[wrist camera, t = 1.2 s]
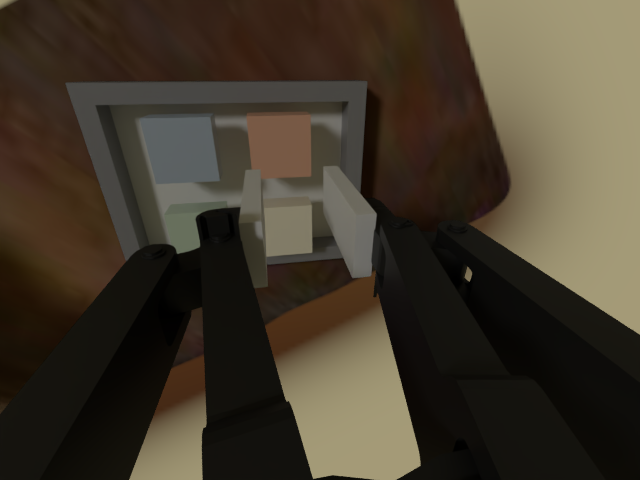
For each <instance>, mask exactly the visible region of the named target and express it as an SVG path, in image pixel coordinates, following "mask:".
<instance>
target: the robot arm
mask: <svg viewBox="0 0 640 480" xmlns="http://www.w3.org/2000/svg"><path fill="white" fill-rule="evenodd" d="M323 214H324V216H325V218H326V220H327V223H328V225H329V227H330V229H331V231H332V234H333V236H334V238H335V240H336V243H337V245H338V247H339V249H340V251H341V254H342V256H343V258H344V260H345V262H346V265H347V267H348V269H349V271H350V273H351V276H352V278H358V277H368V276H371V270H372V264H373V266H374V268H375V269H376V277H375V286H374V296H373V297H376V295H377V293H378V295H379V298H380V303H381V306H382V310H383V314H384V318H385V322H386V325H387V329H388V333H389V337H390V341H391V345H392V349H393V353H394V356H395V360H396V364H397V368H398V372H399V376H400V379H401V383H402V387H403V391H404V395H405V399H406V402H407V406H408V410H409V414H410V417H411V422H412V425H413V429H414V433H415V437H416V441H417V445H418V449H419V454H420V461H421V466H420V467H418V468H416V469H414V470H413V471H411V472H409V473H408V474H406V475H404V476H403V477H401V478H399V479H397V480H640V335H639V334H638V333H636V332H635V331H633V330H631V329H630V328H628V327H627V326H625V325H624V324H622V323H621V322H619V321H618V320H616V319H615V318H613V317H612V316H610V315H608V314H607V313H605V312H604V311H602V310H601V309H599V308H598V307H596V306H595V305H593V304H592V303H590V302H588V301H587V300H585V299H584V298H582V297H581V296H579V295H577V294H576V293H575V292H573V291H571V290H570V289H568V288H567V287H565V286H564V285H562V284H560V283H559V282H558V281H556V280H555V279H553V278H551V277H550V276H548V275H547V274H545V273H544V272H542V271H541V270H539V269H538V268H536V267H535V266H533V265H531V264H530V263H528V262H527V261H525V260H524V259H522V258H521V257H519V256H517V255H516V254H514V253H513V252H511V251H510V250H508V249H507V248H505V247H504V246H502V245H501V244H499V243H498V242H496V241H494V240H493V239H491V238H490V237H488V236H487V235H485V234H484V233H482V232H481V231H479V230H478V229H476V228H474V227H473V226H471V225H469V224H467V223H463V222H462V221H456V220H451V221H443V222H441V223H439V224H438V229H437V232H426V231H420V230H419V228H418V227H417V225H416V224H415V223H414V222H413V221H411V220H409V219H406V218H401V217H395V216H394V215H393V214H392V213H391V211H389V209H388V208H387V207H385V205H384V204H383V203H382V202H381V201H379V200H377V199H375V198H363V196H362V195H361V194H360V193H359V192H358V190H357V189H356V188H355V187H354V185H353V184H352V183H351V182H350V181H349V179H348V178H347V177H346V176H345V175H344V173H343V172H342V171H341V170H340V168H339V167H338V166H323ZM195 220H196V225H197V229H198V234H199V239H200V247H199V248H196V249H194V250H191V251H187V252H183V253H179V254H177V251H176V248H175V247H174V246H172V245H169V244H152V245H150V246H149V245H148V246H145V247H143V248H141V249H139V250H137V251H136V252H135V253H133V254H132V255H131V256H130V258H129V259H128V260H127V261H126V263H125V264H124V265H123V266H122V267H121V269H120V270H119V271H118V272H117V273H116V275H115V276H114V277H113V278H112V280H111V281H110V282H109V283H108V284H107V286H106V287H105V288H104V289H103V290H102V292H101V293H100V294H99V295H98V296H97V298H96V299H95V300H94V301H93V303H92V304H91V305H90V306H89V307H88V309H87V310H86V311H85V312H84V313H83V315H82V316H81V317H80V318H79V319H78V321H77V322H76V323H75V324H74V326H73V327H72V328H71V329H70V330H69V332H68V333H67V334H66V335H65V336H64V338H63V339H62V340H61V341H60V342H59V344H58V345H57V346H56V347H55V349H54V350H53V351H52V352H51V353H50V355H49V356H48V357H47V358H46V359H45V361H44V362H43V363H42V364H41V366H40V367H39V368H38V369H37V370H36V372H35V373H34V374H33V375H32V376H31V378H30V379H29V380H28V381H27V382H26V384H25V385H24V386H23V387H22V389H21V390H20V391H19V392H18V393H17V395H16V396H15V397H14V398H13V399H12V401H11V402H10V403H9V404H8V405H7V407H6V408H5V409H4V410H3V412H2V413H1V414H0V480H129V479H130V476H131V473H132V470H133V468H134V465H135V463H136V460H137V457H138V455H139V452H140V449H141V446H142V444H143V442H144V439H145V436H146V434H147V431H148V428H149V426H150V423H151V420H152V418H153V415H154V413H155V410H156V407H157V405H158V402H159V399H160V397H161V394H162V391H163V389H164V386H165V383H166V381H167V378H168V376H169V373H170V370H171V368H172V365H173V362H174V360H175V357H176V354H177V352H178V349H179V347H180V344H181V341H182V339H183V336H184V333H185V331H186V328H187V325H188V323H189V320H190V318H191V310H193V309H196V308H200V307H202V310H203V336H204V362H205V388H206V414H207V425H206V427H205V428H203V433H202V471H203V480H371V479H363V478H352V477H343V476H334V475H332V476H327V477H322V478H316V479H313V477H312V474H311V471H310V467H309V464H308V460H307V457H306V454H305V450H304V447H303V443H302V440H301V436H300V433H299V430H298V426H297V423H296V419H295V416H294V413H293V410H292V408H291V405H290V403H289V401H288V402H286V400H285V397H284V393H283V390H282V386H281V383H280V379H279V375H278V372H277V368H276V365H275V361H274V358H273V354H272V350H271V347H270V343H269V340H268V336H267V333H266V329H265V325H264V322H263V318H262V315H261V311H260V307H259V304H258V300H257V297H256V293H255V289H254V288H259V287H268V283H267V259H266V236H265V215H264V204H263V192H262V181H261V170H260V169H256V170H246V171H245V178H244V186H243V194H242V201H241V207H234V208H221V209H212V210H207V211H205V212H202V213H200V214H199V215H197V217H196V219H195ZM467 266H468V267H469V268H470V269H471V271H472V277H471V280H470V282H469V281H467V280H466V279H465V278H464V277H465V273H466V269H467Z"/></svg>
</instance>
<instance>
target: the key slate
mask: <svg viewBox="0 0 640 480" xmlns="http://www.w3.org/2000/svg"><path fill="white" fill-rule="evenodd" d="M140 123H141V127H142V131H143V135H144V139H145V142H146V146H147V150H148V154H149V158H150V162H151V166H152V170H153V174H154V178H155V182H156V184H170V183H190V182H210V181H220V179H221V177H222V174H223V171H222V164H221V157H220V151H219V144H218V137H217V130H216V124H215V117H214V113H204V114H152V115H147V116H144V117H142V118H140Z"/></svg>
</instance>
